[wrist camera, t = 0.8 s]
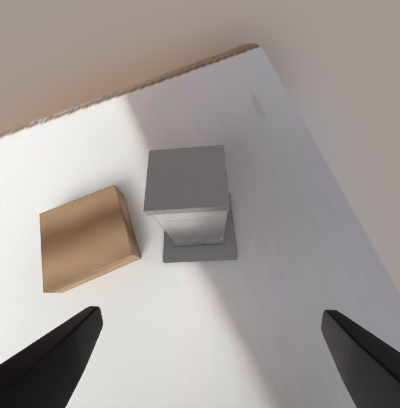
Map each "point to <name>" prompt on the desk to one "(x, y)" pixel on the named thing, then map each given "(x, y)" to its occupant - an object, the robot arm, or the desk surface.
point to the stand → (86, 240)
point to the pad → (203, 247)
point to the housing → (188, 194)
